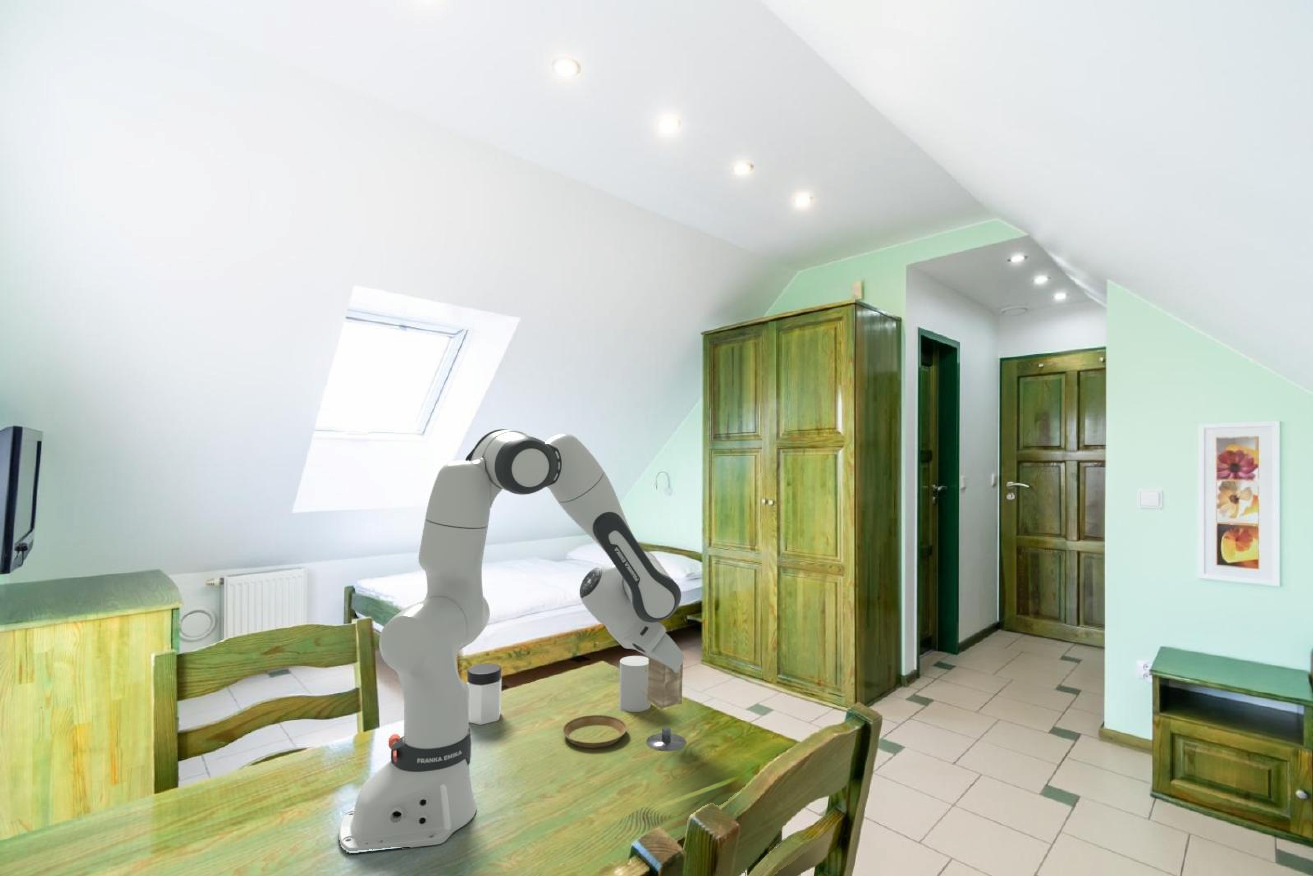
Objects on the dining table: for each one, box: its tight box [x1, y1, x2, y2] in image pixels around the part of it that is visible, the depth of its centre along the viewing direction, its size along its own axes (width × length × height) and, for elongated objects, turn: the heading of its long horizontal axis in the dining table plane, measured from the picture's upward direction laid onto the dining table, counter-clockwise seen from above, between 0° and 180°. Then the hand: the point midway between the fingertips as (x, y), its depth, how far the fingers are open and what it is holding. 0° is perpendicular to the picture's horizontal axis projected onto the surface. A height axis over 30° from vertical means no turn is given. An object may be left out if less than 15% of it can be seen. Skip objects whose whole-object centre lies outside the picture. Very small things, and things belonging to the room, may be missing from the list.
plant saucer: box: [562, 714, 628, 749], centre depth 144 cm, size 15×15×3 cm
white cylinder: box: [618, 655, 652, 713], centre depth 162 cm, size 8×8×12 cm
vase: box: [647, 657, 684, 709], centre depth 143 cm, size 7×6×11 cm
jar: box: [466, 662, 503, 726], centre depth 155 cm, size 9×8×12 cm
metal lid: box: [645, 726, 687, 752], centre depth 142 cm, size 9×9×4 cm
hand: (667, 664), depth 143 cm, fingers closed on vase, 6 cm apart
